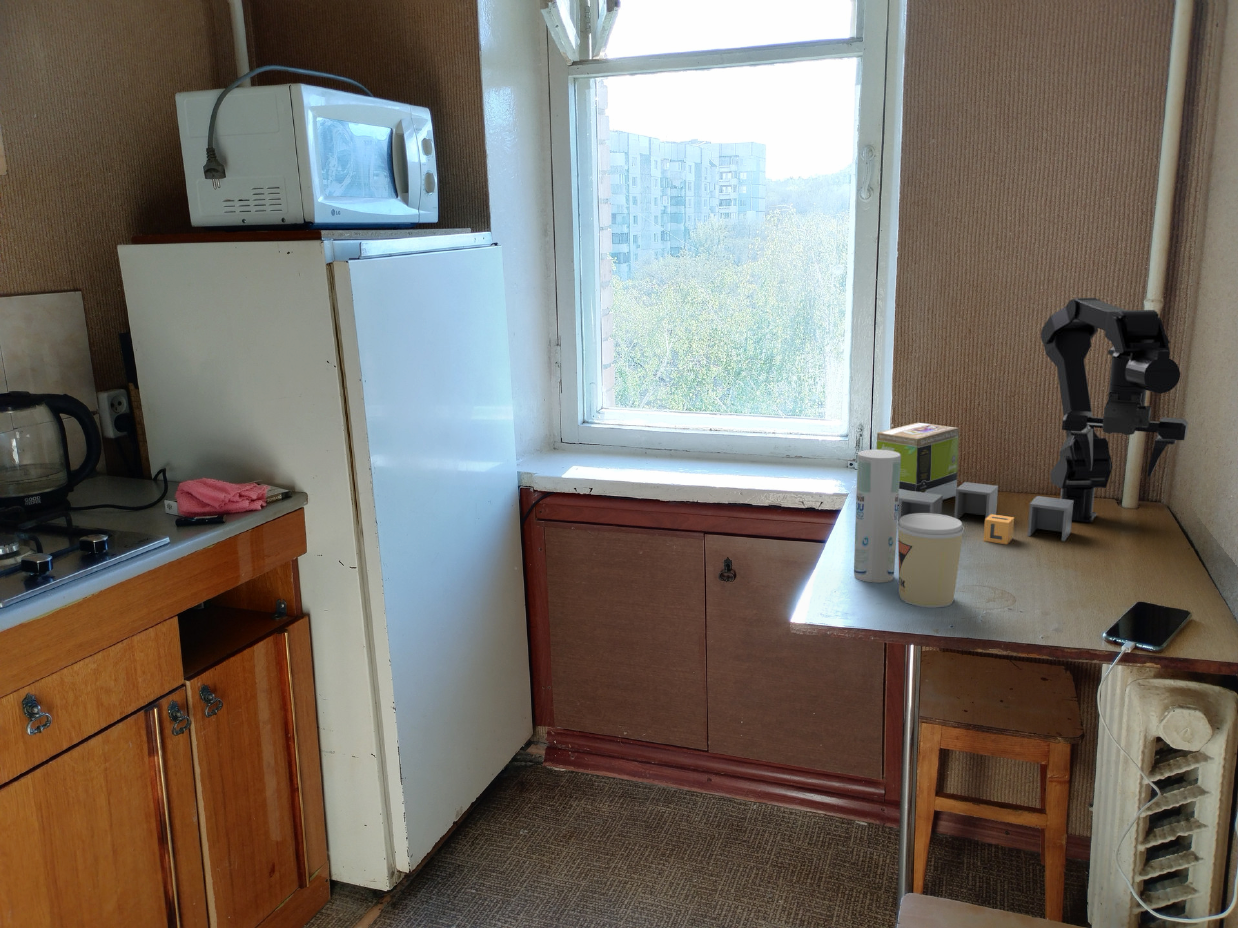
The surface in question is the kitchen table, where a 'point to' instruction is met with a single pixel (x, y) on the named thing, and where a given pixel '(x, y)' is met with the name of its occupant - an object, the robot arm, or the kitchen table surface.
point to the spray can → (876, 515)
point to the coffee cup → (928, 558)
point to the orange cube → (998, 529)
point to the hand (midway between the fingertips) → (1118, 473)
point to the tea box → (924, 457)
